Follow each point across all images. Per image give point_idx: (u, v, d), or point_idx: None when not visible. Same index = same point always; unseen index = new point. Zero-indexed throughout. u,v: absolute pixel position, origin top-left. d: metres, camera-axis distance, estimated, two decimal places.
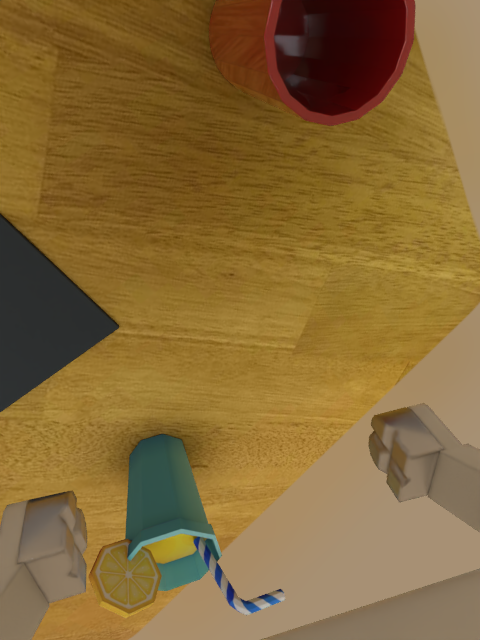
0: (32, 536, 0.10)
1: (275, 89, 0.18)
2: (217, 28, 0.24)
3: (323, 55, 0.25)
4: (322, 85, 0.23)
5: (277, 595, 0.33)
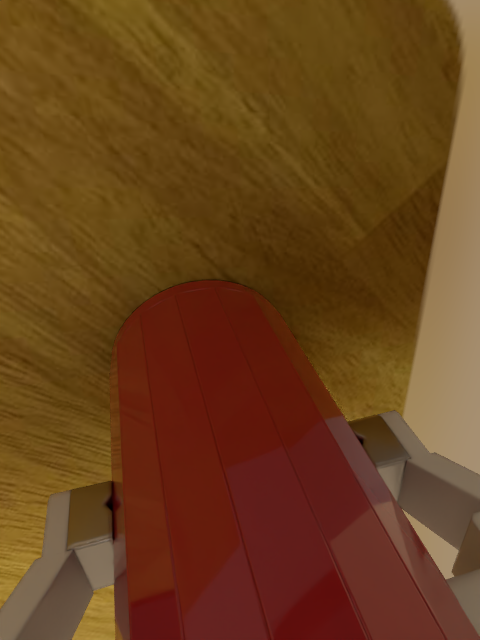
0: (79, 524, 0.10)
1: None
2: (123, 374, 0.12)
3: None
4: None
5: None
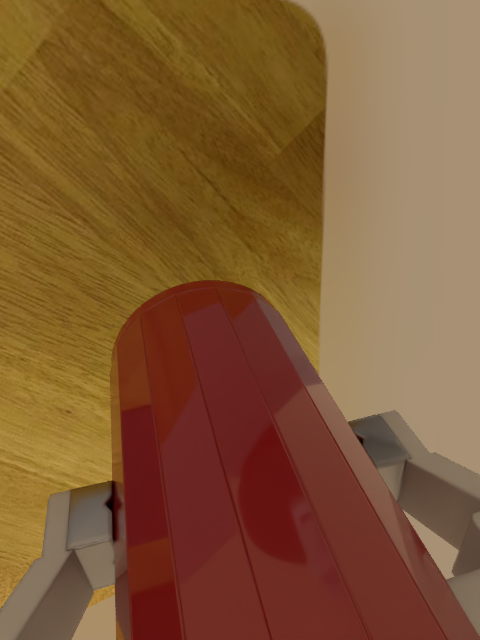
0: (79, 524, 0.10)
1: None
2: (124, 374, 0.12)
3: None
4: None
5: None
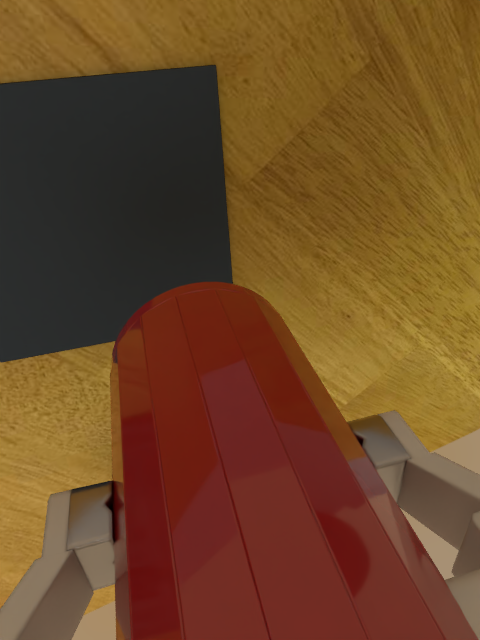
0: (79, 524, 0.10)
1: None
2: (124, 376, 0.12)
3: None
4: None
5: None
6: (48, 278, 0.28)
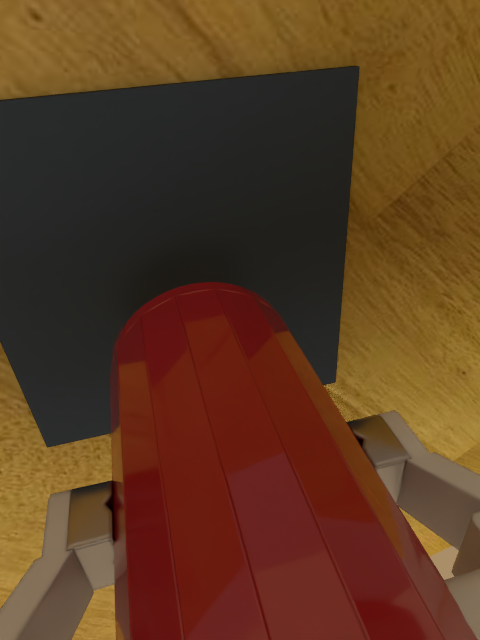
0: (79, 524, 0.10)
1: None
2: (123, 376, 0.12)
3: None
4: None
5: None
6: None
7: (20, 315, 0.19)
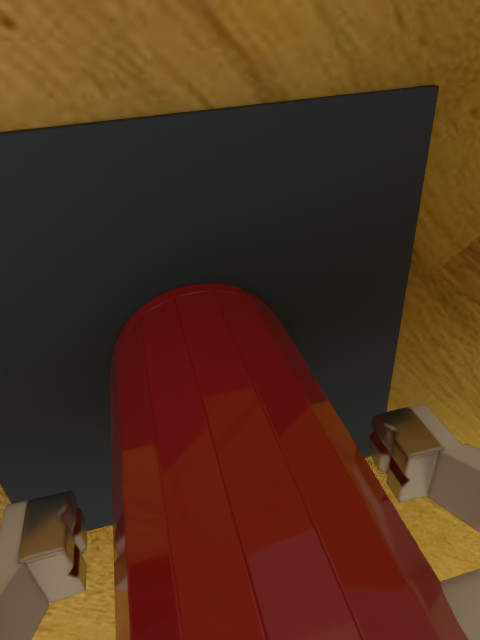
0: (32, 536, 0.10)
1: None
2: (123, 375, 0.13)
3: None
4: None
5: None
6: None
7: None
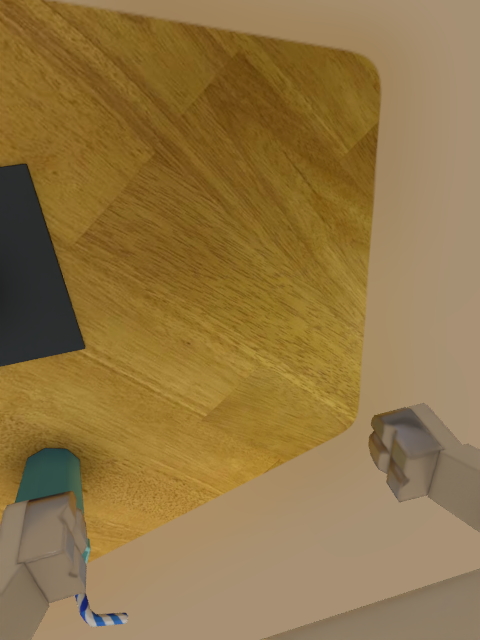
0: (32, 536, 0.10)
1: None
2: None
3: None
4: None
5: (122, 616, 0.38)
6: None
7: None
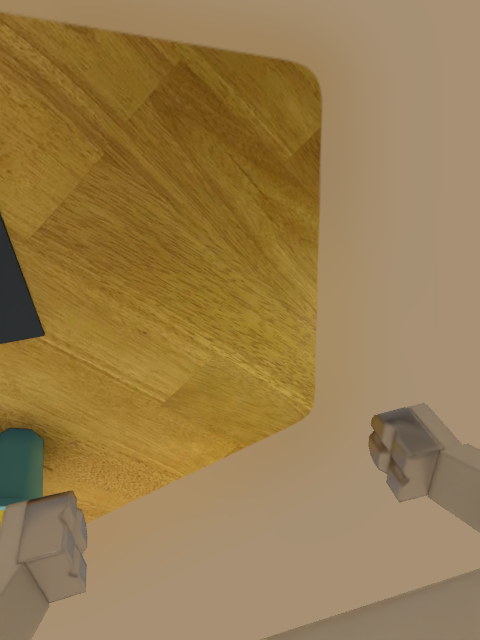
0: (32, 536, 0.10)
1: None
2: None
3: None
4: None
5: None
6: None
7: None
